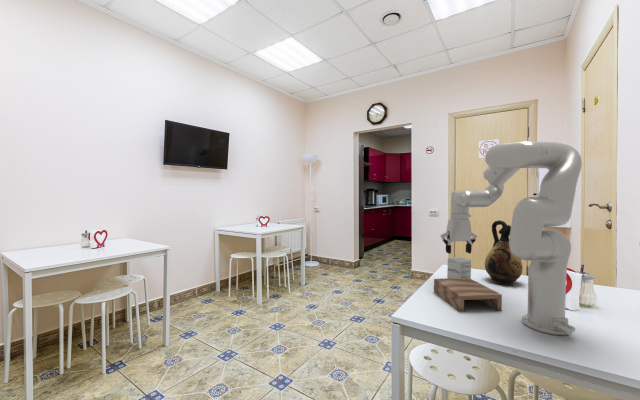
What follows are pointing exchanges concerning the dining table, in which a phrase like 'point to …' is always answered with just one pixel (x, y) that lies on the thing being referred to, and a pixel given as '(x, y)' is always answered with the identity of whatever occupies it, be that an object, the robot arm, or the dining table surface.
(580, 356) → the dining table surface
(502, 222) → the ceramic jug
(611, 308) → the dining table surface
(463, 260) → the supplement box
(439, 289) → the walnut shelf
